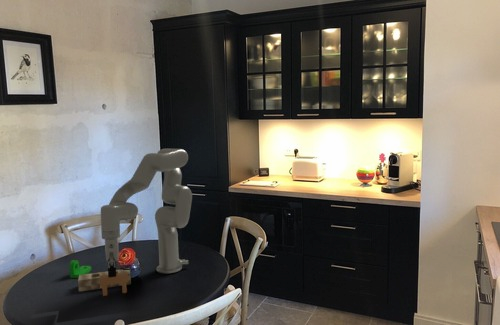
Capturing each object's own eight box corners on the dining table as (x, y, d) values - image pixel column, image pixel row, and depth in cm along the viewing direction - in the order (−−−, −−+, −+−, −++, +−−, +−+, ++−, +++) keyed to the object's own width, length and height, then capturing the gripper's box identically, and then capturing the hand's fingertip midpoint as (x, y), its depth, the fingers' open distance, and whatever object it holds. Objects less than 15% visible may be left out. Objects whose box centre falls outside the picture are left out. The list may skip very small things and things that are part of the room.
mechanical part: (82, 278, 197) (81, 262, 196) (70, 278, 198) (69, 262, 197) (93, 269, 209) (92, 254, 208) (82, 269, 209) (81, 254, 209)
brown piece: (128, 289, 182) (127, 272, 181) (129, 292, 179) (127, 274, 179) (100, 293, 179) (99, 275, 178) (100, 296, 176) (99, 278, 175)
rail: (130, 278, 195) (129, 268, 194) (131, 284, 188) (130, 273, 188) (80, 285, 188) (79, 275, 188) (78, 291, 181) (78, 280, 181)
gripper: (120, 238, 169) (121, 278, 170) (119, 228, 186) (121, 266, 187) (100, 239, 167) (102, 281, 168) (102, 230, 183) (103, 267, 184)
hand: (112, 273), depth 177 cm, fingers open, 9 cm apart
